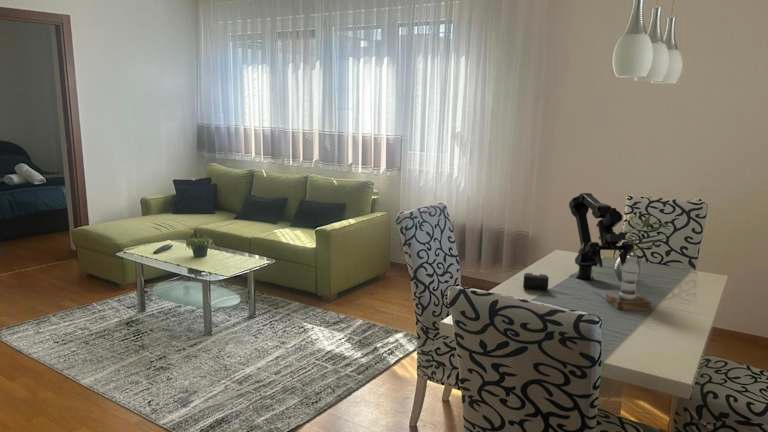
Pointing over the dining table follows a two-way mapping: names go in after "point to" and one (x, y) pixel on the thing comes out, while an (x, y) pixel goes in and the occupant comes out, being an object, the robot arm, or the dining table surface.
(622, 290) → the plastic bottle
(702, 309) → the dining table surface
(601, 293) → the felt coaster
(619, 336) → the dining table surface
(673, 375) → the dining table surface
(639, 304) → the walnut collar
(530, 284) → the end cap
